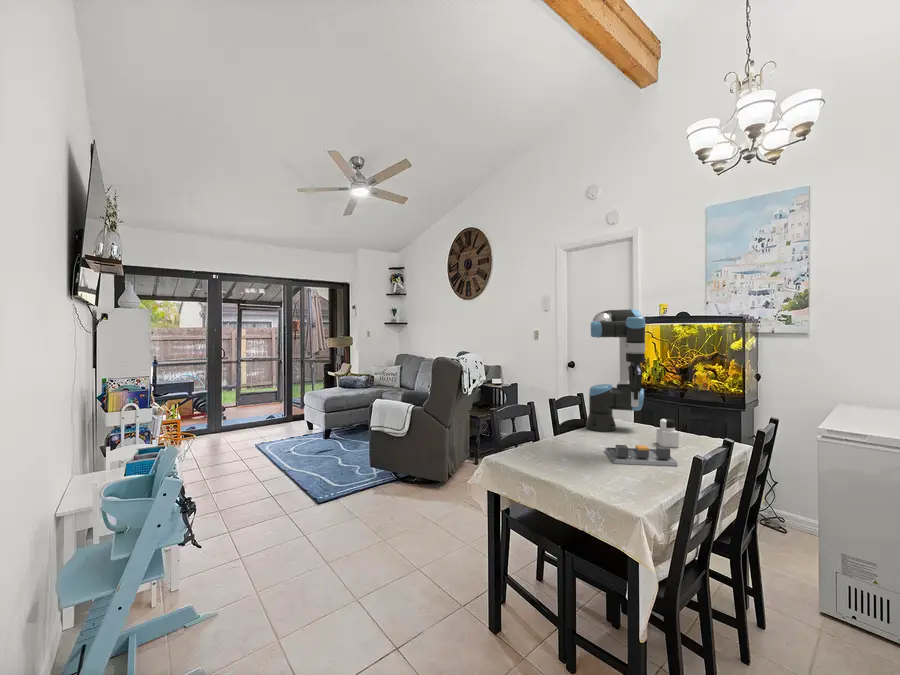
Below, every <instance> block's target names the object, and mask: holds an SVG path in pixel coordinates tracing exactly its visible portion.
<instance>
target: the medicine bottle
mask: <svg viewBox="0 0 900 675" xmlns="http://www.w3.org/2000/svg"><path fill="white" fill-rule="evenodd" d="M655 432H656V439H655V440H656V444H658V446H667V447H668V448H679V447H680V446H679V444H680V443H679V442H680V432H679V431H677V430H676V421H675V420H674V419H671V418H661V419H660V422H659V427H656V431H655Z"/></svg>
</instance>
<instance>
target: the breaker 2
mask: <svg viewBox="0 0 900 675" xmlns="http://www.w3.org/2000/svg"><path fill="white" fill-rule="evenodd" d="M655 449H656V456H657V457H658V458H659V459H670V456H671V449H670V447H667V446H660V445H656V446H655Z"/></svg>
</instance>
